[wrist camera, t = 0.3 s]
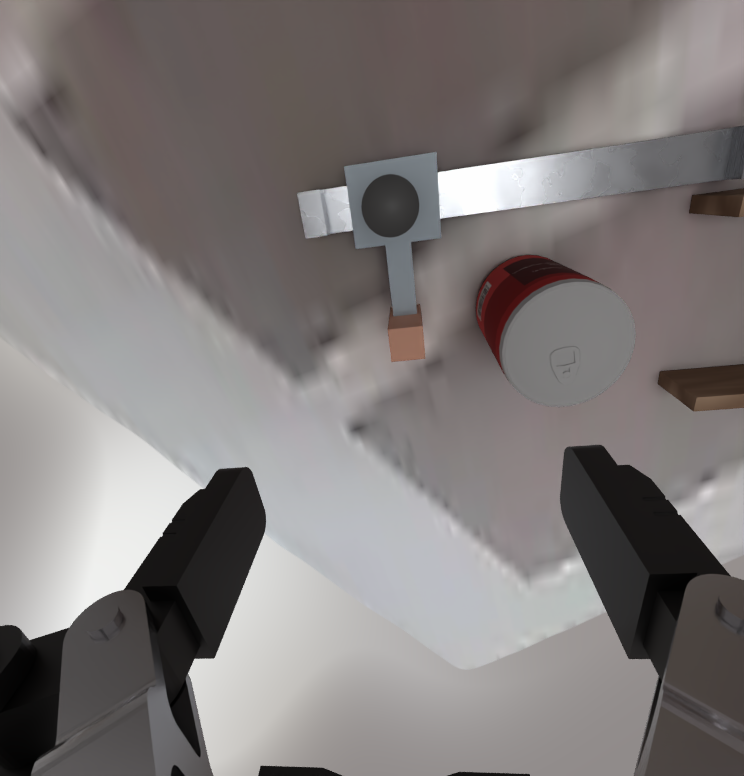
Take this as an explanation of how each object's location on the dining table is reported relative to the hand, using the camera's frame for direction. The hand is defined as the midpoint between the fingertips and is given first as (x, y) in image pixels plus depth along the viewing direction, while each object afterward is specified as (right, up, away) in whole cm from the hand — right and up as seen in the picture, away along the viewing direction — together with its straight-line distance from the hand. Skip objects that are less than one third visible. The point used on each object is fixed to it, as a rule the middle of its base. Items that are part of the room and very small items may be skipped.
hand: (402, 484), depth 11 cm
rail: (+9, +18, +20) cm, 28 cm away
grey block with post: (+2, +13, +22) cm, 26 cm away
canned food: (+12, +10, +24) cm, 28 cm away
